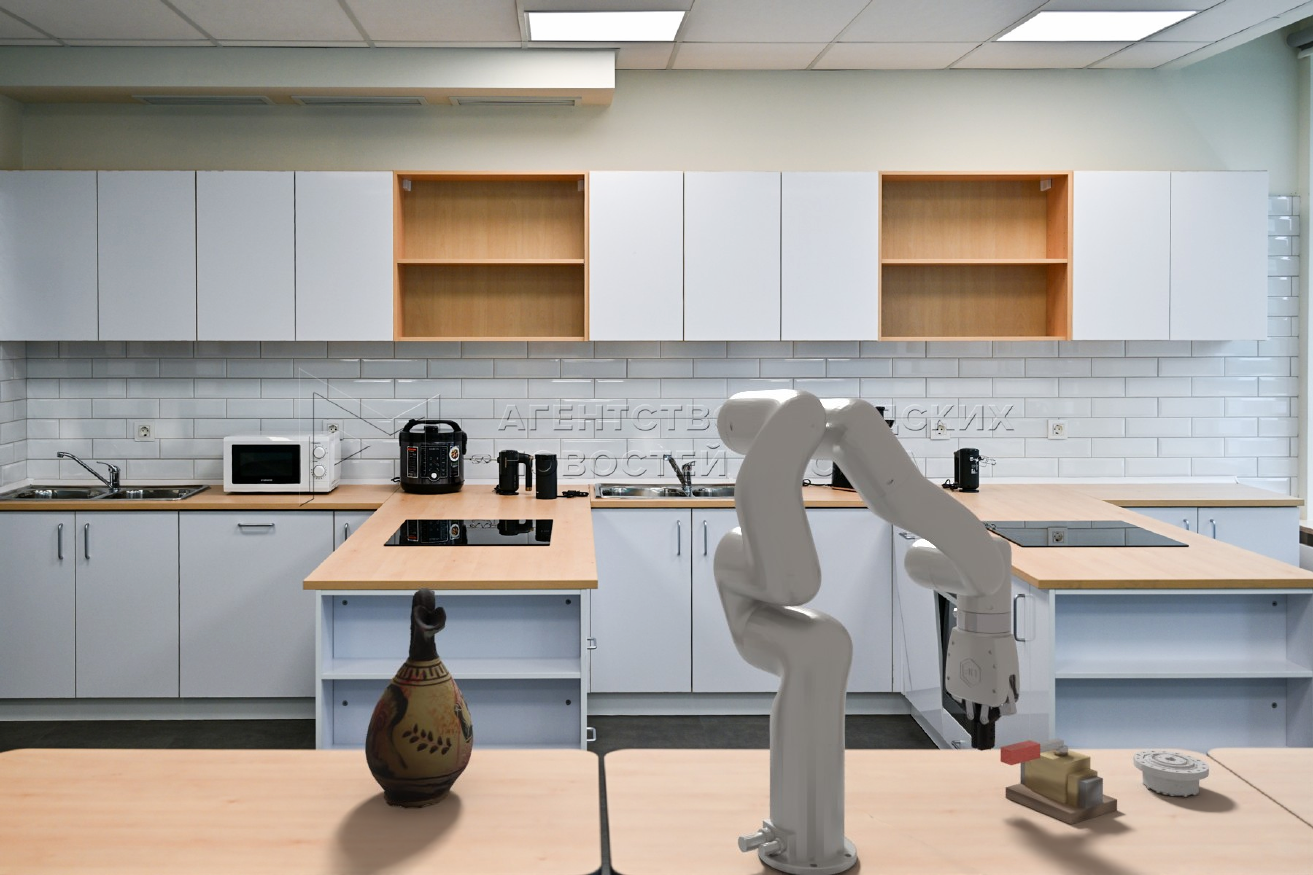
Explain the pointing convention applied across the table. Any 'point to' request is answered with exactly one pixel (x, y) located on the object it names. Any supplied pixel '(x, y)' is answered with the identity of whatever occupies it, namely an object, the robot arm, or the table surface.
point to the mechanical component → (1171, 772)
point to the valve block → (1062, 787)
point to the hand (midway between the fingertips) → (983, 747)
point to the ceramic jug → (420, 720)
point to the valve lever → (1031, 750)
